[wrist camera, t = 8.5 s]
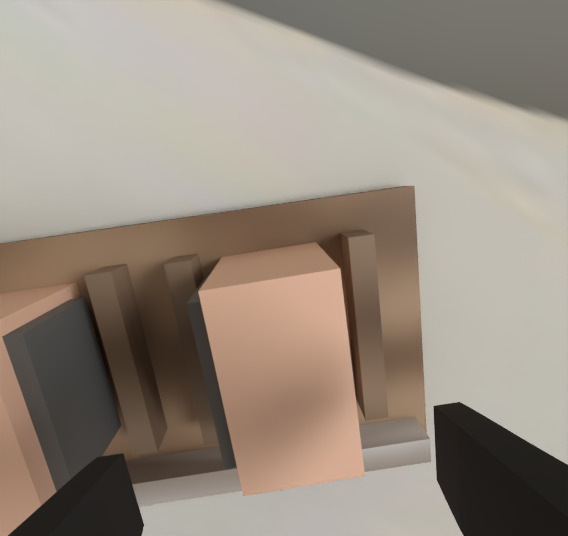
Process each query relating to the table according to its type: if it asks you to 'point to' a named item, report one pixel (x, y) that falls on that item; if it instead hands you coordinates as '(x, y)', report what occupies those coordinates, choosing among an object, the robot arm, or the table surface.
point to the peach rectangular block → (279, 368)
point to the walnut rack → (181, 343)
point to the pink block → (48, 397)
